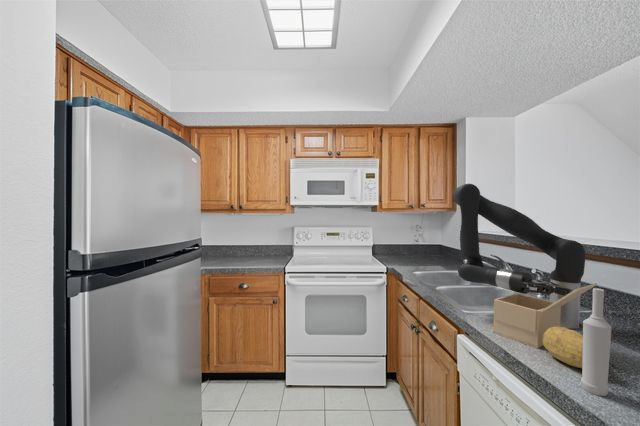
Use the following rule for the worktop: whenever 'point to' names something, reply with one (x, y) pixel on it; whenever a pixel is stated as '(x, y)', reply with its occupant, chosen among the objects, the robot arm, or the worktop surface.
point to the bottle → (596, 348)
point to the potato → (564, 345)
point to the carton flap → (569, 297)
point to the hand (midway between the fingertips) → (571, 293)
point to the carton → (524, 318)
